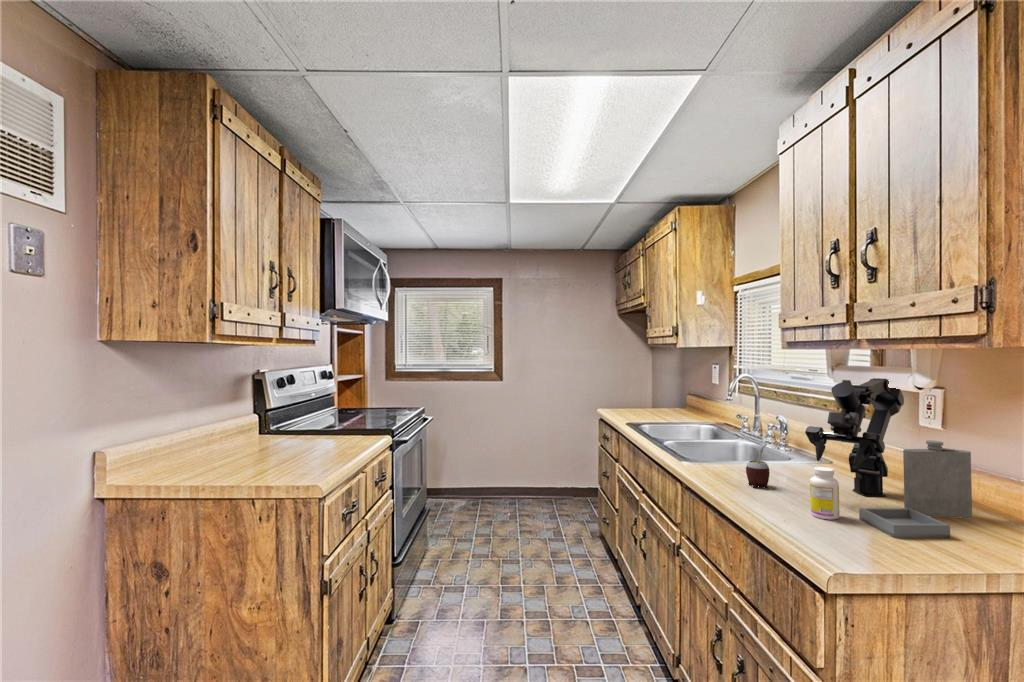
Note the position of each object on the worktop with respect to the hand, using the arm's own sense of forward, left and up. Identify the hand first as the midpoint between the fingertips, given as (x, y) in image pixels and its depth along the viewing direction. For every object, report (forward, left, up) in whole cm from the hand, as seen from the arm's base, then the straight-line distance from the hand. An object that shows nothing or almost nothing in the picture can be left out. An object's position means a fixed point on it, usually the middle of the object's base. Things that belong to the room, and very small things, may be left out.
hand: (835, 462), depth 143 cm
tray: (-8, +14, -13) cm, 21 cm away
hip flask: (-24, +4, -13) cm, 28 cm away
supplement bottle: (+6, +5, -13) cm, 15 cm away
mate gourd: (+11, -24, -13) cm, 30 cm away
